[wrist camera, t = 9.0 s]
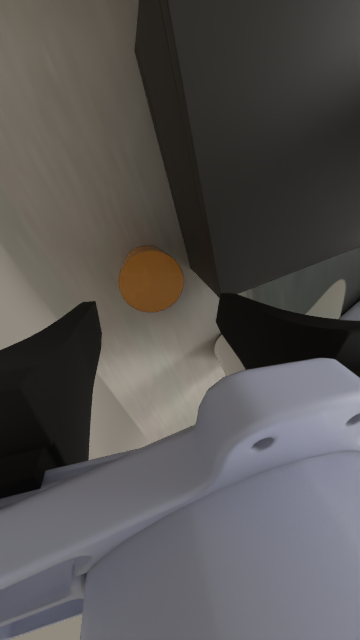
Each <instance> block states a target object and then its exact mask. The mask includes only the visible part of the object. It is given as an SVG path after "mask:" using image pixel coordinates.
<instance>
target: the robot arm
mask: <svg viewBox="0 0 360 640" xmlns="http://www.w3.org/2000/svg"><path fill="white" fill-rule="evenodd" d="M216 323H217V325H218V328H219V330H220V332H221V334H222V335H223V337H224V338H225V340H226V341H227V343H228V344H229V345H230V347H231V348H232V350H233V351H234V353H235V354H236V355H237V357H238V358H239V360H240V361H241V363H242V364H243V366H244V368H245V370H243V371H239V372H236V373H234V374H231V375H228V376H225V377H223V378H222V379H220V380H219V381H218V382H217V383H215V384H214V385H213V386H212V387H210V388H209V389H208V390H207V392H206V394H205V396H204V398H203V400H202V402H201V404H200V406H199V410H198V416H197V422H196V425H193V426H191V427H188V428H186V429H184V430H181V431H179V432H177V433H175V434H172V435H170V436H168V437H165V438H163V439H161V440H158V441H156V442H154V443H151V444H149V445H147V446H145V447H142V448H139V449H135V450H130V451H126V452H122V453H118V454H113V455H110V456H105V457H101V458H97V459H93V460H88V458H89V457H88V456H89V436H90V420H91V419H90V418H91V405H92V394H93V386H94V380H95V375H96V370H97V365H98V361H99V356H100V351H101V339H102V332H101V327H100V322H99V316H98V311H97V306H96V301H92V302H82V303H81V304H79V305H78V306H76V307H75V308H74V309H73V310H71V311H70V312H69V313H67V314H66V315H64V316H63V317H62V318H60V319H59V320H57V321H56V322H54V323H53V324H51V325H50V326H48V327H47V328H45V329H44V330H42V331H40V332H38V333H36V334H34V335H33V336H31V337H29V338H27V339H25V340H23V341H20V342H18V343H16V344H14V345H11V346H9V347H7V348H5V349H2V350H0V640H10V639H12V638H15V637H18V636H21V635H24V634H27V633H30V632H33V631H35V630H38V629H41V628H44V627H47V626H50V625H53V624H56V623H58V622H61V621H64V620H67V619H70V618H73V617H76V616H79V615H81V614H82V624H81V634H80V640H360V321H353V320H339V319H330V318H322V317H315V316H309V315H303V314H299V313H294V312H290V311H286V310H282V309H278V308H275V307H272V306H269V305H266V304H263V303H260V302H257V301H254V300H251V299H249V298H246V297H243V296H240V295H237V294H233V293H220V299H219V306H218V312H217V318H216Z"/></svg>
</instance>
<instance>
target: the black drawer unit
mask: <svg viewBox="0 0 360 640" xmlns="http://www.w3.org/2000/svg"><path fill="white" fill-rule="evenodd" d="M135 54H136V58H137V62H138V66H139V70H140V74H141V78H142V81H143V85H144V89H145V93H146V97H147V101H148V105H149V109H150V112H151V116H152V120H153V124H154V128H155V132H156V136H157V140H158V143H159V147H160V151H161V155H162V159H163V163H164V167H165V171H166V174H167V178H168V182H169V186H170V190H171V194H172V198H173V202H174V205H175V209H176V213H177V217H178V221H179V225H180V229H181V233H182V237H183V240H184V244H185V248H186V252H187V256H188V260H189V264H190V268H191V269H192V270H193V271H194V272H195V273H196V274H197V275H198V276H199V277H200V278H201V279H202V280H203V281H204V282H205V283H206V284H207V286H208V287H209V288H210V289H211V290H212V291H213V292H214V293H215V294H216V295H217V296H218V297H219V298H220V293H233V294H238V293H241V292H243V291H246V290H249V289H251V288H254V287H256V286H259V285H262V284H264V283H267V282H269V281H272V280H274V279H277V278H280V277H282V276H285V275H287V274H290V273H293V272H295V271H298V270H300V269H303V268H306V267H308V266H311V265H313V264H316V263H319V262H321V261H324V260H326V259H329V258H332V257H334V256H337V255H339V254H342V253H345V252H347V251H350V250H352V249H355V248H358V247H360V0H139V7H138V18H137V29H136V42H135Z"/></svg>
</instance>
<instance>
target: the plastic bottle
mask: <svg viewBox="0 0 360 640" xmlns="http://www.w3.org/2000/svg"><path fill="white" fill-rule="evenodd" d="M339 320H353V321H360V301H359V302H358V303H356V304H355V305H354V306H353V307H352V308H351V309H349V310H348V311H347V312H346V313H345V314H344V315H343V316H341V317H340V318H339Z"/></svg>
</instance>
